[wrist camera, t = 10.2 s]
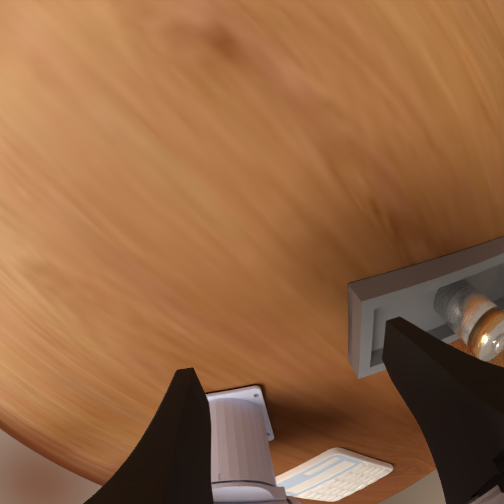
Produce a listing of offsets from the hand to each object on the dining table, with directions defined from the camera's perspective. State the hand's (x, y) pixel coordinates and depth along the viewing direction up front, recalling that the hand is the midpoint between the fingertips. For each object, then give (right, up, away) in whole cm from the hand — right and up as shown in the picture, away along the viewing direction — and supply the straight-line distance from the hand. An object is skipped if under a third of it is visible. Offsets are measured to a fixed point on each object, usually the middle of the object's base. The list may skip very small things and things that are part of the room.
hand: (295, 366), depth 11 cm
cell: (+16, 0, +12) cm, 20 cm away
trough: (+16, 0, +13) cm, 21 cm away
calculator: (+11, -30, +27) cm, 42 cm away
